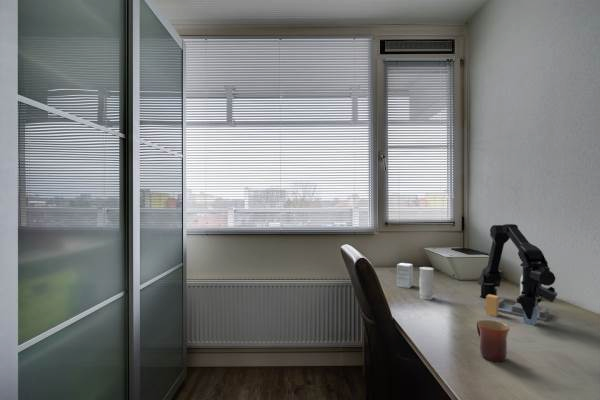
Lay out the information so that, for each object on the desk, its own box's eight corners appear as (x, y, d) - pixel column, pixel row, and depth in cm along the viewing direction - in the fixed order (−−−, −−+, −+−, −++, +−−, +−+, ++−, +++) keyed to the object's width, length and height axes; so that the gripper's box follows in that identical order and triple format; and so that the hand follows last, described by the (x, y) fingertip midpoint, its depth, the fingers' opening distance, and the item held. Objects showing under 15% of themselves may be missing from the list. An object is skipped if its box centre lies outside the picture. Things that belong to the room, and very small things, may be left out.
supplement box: (400, 283, 199) (400, 262, 199) (413, 285, 195) (413, 264, 195) (396, 286, 193) (396, 264, 193) (409, 288, 189) (409, 266, 189)
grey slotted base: (491, 310, 153) (491, 303, 153) (498, 304, 161) (498, 298, 161) (545, 321, 139) (545, 314, 139) (550, 314, 147) (550, 307, 147)
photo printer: (527, 294, 179) (527, 271, 179) (536, 296, 175) (537, 272, 175) (518, 297, 173) (518, 273, 173) (527, 299, 169) (528, 275, 169)
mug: (516, 363, 102) (516, 330, 102) (488, 364, 102) (489, 330, 102) (490, 346, 114) (490, 316, 114) (466, 347, 114) (466, 316, 114)
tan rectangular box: (485, 314, 147) (486, 296, 147) (488, 312, 150) (488, 294, 150) (496, 316, 144) (496, 297, 144) (498, 314, 147) (499, 296, 147)
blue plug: (523, 322, 137) (523, 303, 137) (525, 320, 140) (526, 301, 140) (535, 325, 134) (535, 305, 134) (537, 322, 137) (537, 303, 137)
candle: (419, 299, 169) (419, 269, 169) (419, 295, 175) (419, 266, 175) (433, 300, 166) (434, 270, 166) (433, 296, 173) (433, 267, 173)
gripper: (551, 287, 125) (551, 329, 125) (559, 279, 138) (558, 317, 138) (516, 281, 133) (516, 321, 133) (527, 274, 146) (526, 310, 146)
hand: (530, 317), depth 137 cm, fingers closed on blue plug, 4 cm apart
